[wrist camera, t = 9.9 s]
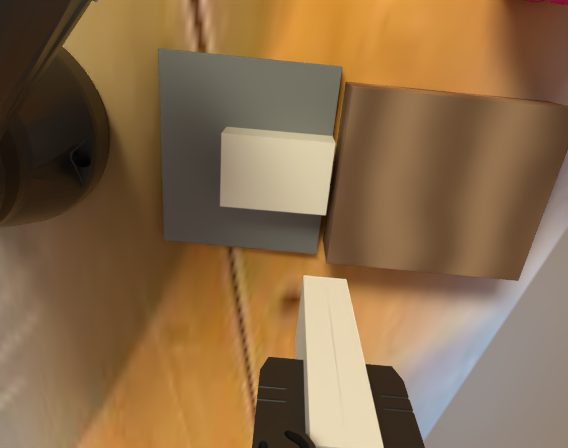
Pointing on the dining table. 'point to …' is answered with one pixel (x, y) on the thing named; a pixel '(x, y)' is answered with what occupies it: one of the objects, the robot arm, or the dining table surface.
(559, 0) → the pepper mill
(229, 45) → the dining table surface
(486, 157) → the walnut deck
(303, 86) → the charcoal mat
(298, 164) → the ceramic tile
